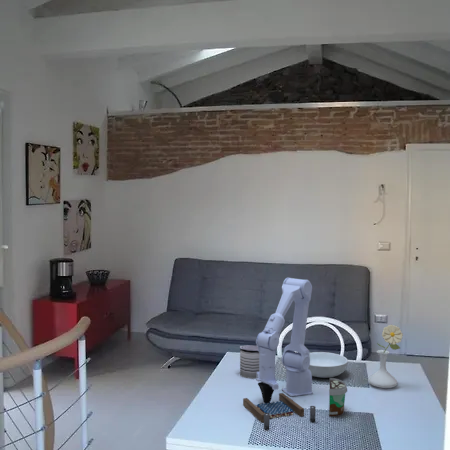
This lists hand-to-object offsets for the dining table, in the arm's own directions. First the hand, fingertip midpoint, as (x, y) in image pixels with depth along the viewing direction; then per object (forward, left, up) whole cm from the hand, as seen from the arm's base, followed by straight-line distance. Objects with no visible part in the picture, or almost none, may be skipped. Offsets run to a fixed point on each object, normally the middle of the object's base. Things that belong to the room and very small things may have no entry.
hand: (266, 402), depth 191 cm
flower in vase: (-53, -2, -1) cm, 53 cm away
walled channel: (0, +5, -1) cm, 5 cm away
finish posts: (0, +18, -1) cm, 18 cm away
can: (-9, -33, -1) cm, 34 cm away
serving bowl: (-37, -23, -1) cm, 44 cm away
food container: (-21, +14, -1) cm, 25 cm away
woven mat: (0, +6, -2) cm, 6 cm away
